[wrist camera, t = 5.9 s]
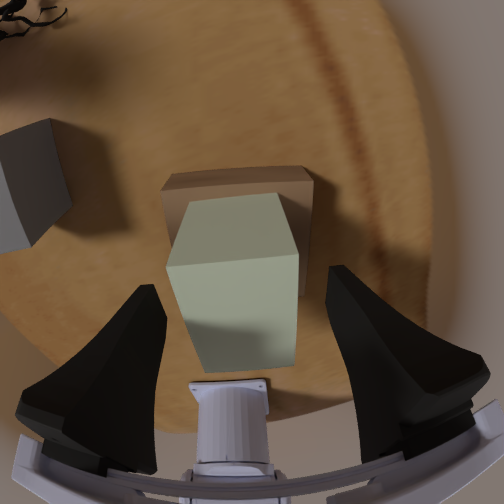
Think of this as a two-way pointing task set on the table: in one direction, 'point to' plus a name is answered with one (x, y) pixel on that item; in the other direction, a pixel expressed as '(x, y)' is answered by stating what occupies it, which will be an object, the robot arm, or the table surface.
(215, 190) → the walnut block
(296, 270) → the sage brick
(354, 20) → the table surface
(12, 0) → the creature
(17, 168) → the charcoal brick
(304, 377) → the table surface
